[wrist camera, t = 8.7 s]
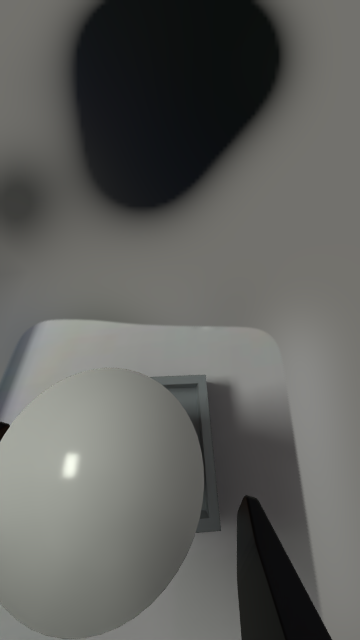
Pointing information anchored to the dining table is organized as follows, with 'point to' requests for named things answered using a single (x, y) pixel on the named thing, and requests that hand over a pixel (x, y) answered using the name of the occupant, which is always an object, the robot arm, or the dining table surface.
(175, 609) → the dining table surface
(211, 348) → the dining table surface
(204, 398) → the tray
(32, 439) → the brown cylinder grey top
